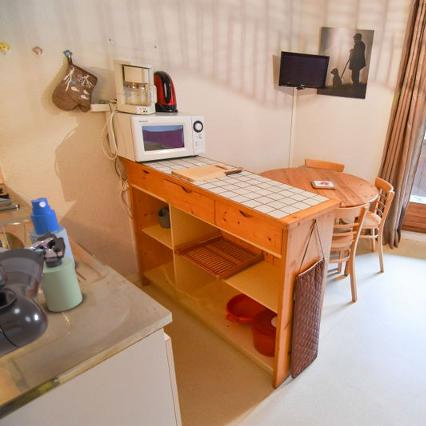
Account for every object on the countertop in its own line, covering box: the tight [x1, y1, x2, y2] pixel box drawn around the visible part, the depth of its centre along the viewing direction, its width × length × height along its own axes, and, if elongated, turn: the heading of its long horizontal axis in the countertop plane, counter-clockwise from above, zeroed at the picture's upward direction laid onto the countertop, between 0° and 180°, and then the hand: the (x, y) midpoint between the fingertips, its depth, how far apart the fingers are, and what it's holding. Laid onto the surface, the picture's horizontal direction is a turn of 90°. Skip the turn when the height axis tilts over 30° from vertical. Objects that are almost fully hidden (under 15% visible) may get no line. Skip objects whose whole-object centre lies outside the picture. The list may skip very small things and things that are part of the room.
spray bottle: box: [29, 197, 76, 268], centre depth 101 cm, size 9×9×25 cm
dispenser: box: [40, 256, 83, 313], centre depth 89 cm, size 8×8×15 cm
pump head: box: [37, 231, 57, 247], centre depth 86 cm, size 7×4×4 cm, turn 35°
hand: (25, 239), depth 72 cm, fingers open, 8 cm apart
